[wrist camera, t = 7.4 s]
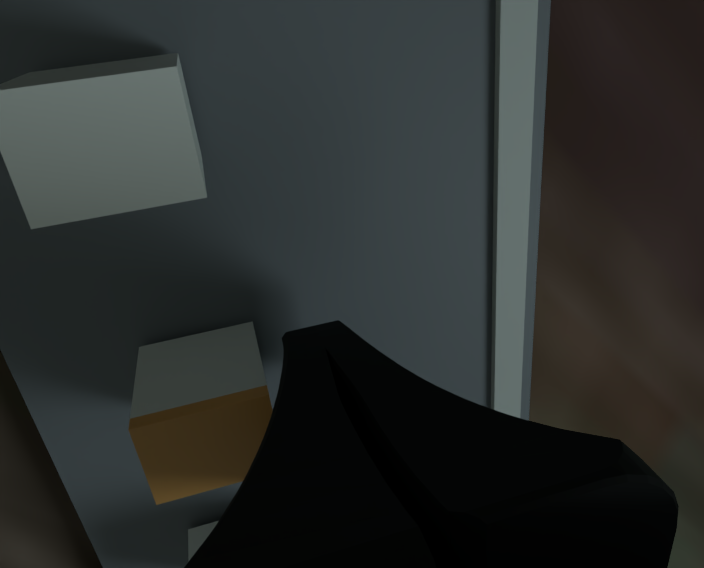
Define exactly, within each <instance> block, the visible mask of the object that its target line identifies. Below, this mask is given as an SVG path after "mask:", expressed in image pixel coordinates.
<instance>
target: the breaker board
mask: <svg viewBox="0 0 704 568" xmlns="http://www.w3.org/2000/svg"><path fill="white" fill-rule="evenodd" d="M550 4H551V0H0V84H2V83H4V82H7V81H9V80H12V79H14V78H17V77H19V76H21V75H24V74H26V73H29V72H35V71H43V70H51V69H58V68H66V67H74V66H81V65H89V64H96V63H104V62H112V61H119V60H127V59H135V58H142V57H150V56H158V55H165V54H173V53H178V55H179V59H180V63H181V68H182V72H183V77H184V81H185V85H186V90H187V94H188V98H189V103H190V107H191V111H192V116H193V120H194V125H195V129H196V133H197V138H198V142H199V146H200V151H201V155H202V162H203V170H204V177H205V185H206V192H207V198H202V199H197V200H191V201H186V202H180V203H174V204H169V205H163V206H158V207H152V208H147V209H141V210H136V211H130V212H124V213H119V214H113V215H108V216H102V217H97V218H91V219H86V220H80V221H74V222H69V223H63V224H58V225H52V226H47V227H41V228H36V229H31V228H30V225H29V223H28V220H27V218H26V215H25V213H24V210H23V208H22V205H21V203H20V200H19V197H18V195H17V192H16V190H15V187H14V185H13V182H12V180H11V177H10V175H9V172H8V169H7V167H6V164H5V162H4V159H3V157H2V154H1V152H0V350H1V352H2V354H3V356H4V359H5V361H6V363H7V365H8V367H9V369H10V371H11V373H12V376H13V378H14V380H15V382H16V384H17V386H18V388H19V390H20V393H21V395H22V397H23V399H24V401H25V403H26V405H27V407H28V410H29V412H30V414H31V416H32V418H33V420H34V422H35V424H36V427H37V429H38V431H39V433H40V435H41V437H42V439H43V441H44V444H45V446H46V448H47V450H48V452H49V454H50V456H51V458H52V461H53V463H54V465H55V467H56V469H57V471H58V473H59V475H60V478H61V480H62V482H63V484H64V486H65V488H66V490H67V492H68V495H69V497H70V499H71V501H72V503H73V505H74V507H75V509H76V512H77V514H78V516H79V518H80V520H81V522H82V524H83V526H84V529H85V531H86V533H87V535H88V537H89V539H90V541H91V543H92V546H93V548H94V550H95V552H96V554H97V556H98V558H99V560H100V563H101V565H102V567H103V568H184V567H185V566H186V564H187V563H188V562H189V561H188V529H191V528H195V527H198V526H202V525H205V524H209V523H212V522H216V521H219V520H220V518H221V517H222V515H223V513H224V512H225V510H226V509H227V507H228V505H229V504H230V502H231V501H232V499H233V497H234V496H235V494H236V493H237V491H238V489H239V488H240V486H241V484H242V482H243V481H242V482H238V483H234V484H231V485H227V486H224V487H220V488H216V489H213V490H209V491H205V492H202V493H198V494H195V495H191V496H187V497H184V498H180V499H177V500H173V501H169V502H166V503H162V504H158V505H156V502H155V500H154V497H153V494H152V492H151V489H150V486H149V484H148V481H147V478H146V476H145V473H144V470H143V468H142V465H141V462H140V460H139V457H138V454H137V452H136V449H135V446H134V444H133V441H132V438H131V436H130V433H129V430H128V429H129V421H130V413H131V406H132V398H133V390H134V382H135V375H136V367H137V359H138V351H139V347H141V346H145V345H150V344H154V343H158V342H163V341H167V340H172V339H176V338H181V337H185V336H190V335H194V334H199V333H203V332H208V331H212V330H217V329H221V328H225V327H230V326H234V325H239V324H243V323H248V322H252V321H253V326H254V330H255V334H256V339H257V343H258V348H259V352H260V357H261V361H262V366H263V370H264V374H265V379H266V383H267V388H268V392H269V397H270V401H271V406H272V411H273V407H274V404H275V400H276V397H277V393H278V389H279V383H280V378H281V372H282V365H283V352H284V350H283V343H282V337H283V335H284V334H285V333H286V332H288V331H293V330H297V329H301V328H306V327H310V326H315V325H319V324H323V323H328V322H332V321H337V320H339V321H341V322H342V323H344V324H345V325H346V326H347V327H349V328H350V329H351V330H352V331H354V332H355V333H356V334H357V335H359V336H360V337H361V338H363V339H364V340H365V341H367V342H368V343H369V344H371V345H372V346H373V347H375V348H376V349H377V350H379V351H380V352H382V353H383V354H384V355H386V356H387V357H389V358H390V359H392V360H393V361H395V362H396V363H398V364H399V365H401V366H402V367H404V368H406V369H407V370H409V371H411V372H412V373H414V374H416V375H417V376H419V377H421V378H423V379H424V380H426V381H428V382H430V383H432V384H434V385H436V386H438V387H440V388H442V389H444V390H447V391H449V392H451V393H453V394H455V395H457V396H460V397H462V398H464V399H467V400H469V401H472V402H474V403H477V404H479V405H482V406H485V407H488V408H491V409H493V410H496V411H499V412H502V413H505V414H508V415H511V416H514V417H518V418H521V419H524V420H528V421H529V406H530V387H531V368H532V349H533V329H534V310H535V291H536V272H537V253H538V234H539V215H540V195H541V176H542V157H543V138H544V119H545V100H546V81H547V62H548V42H549V23H550Z"/></svg>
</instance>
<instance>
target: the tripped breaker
mask: <svg viewBox="0 0 704 568" xmlns="http://www.w3.org/2000/svg"><path fill="white" fill-rule="evenodd" d="M271 414H272V406H271V401H270V397H269V392H268V388H267V383H266V379H265V374H264V370H263V366H262V361H261V357H260V352H259V348H258V343H257V339H256V334H255V330H254V326H253V321H252V322H248V323H243V324H239V325H234V326H230V327H225V328H221V329H217V330H212V331H208V332H203V333H199V334H194V335H190V336H185V337H181V338H176V339H172V340H167V341H163V342H158V343H154V344H150V345H145V346H141V347H139V351H138V359H137V367H136V375H135V382H134V390H133V398H132V406H131V413H130V421H129V429H128V430H129V433H130V436H131V438H132V441H133V444H134V446H135V449H136V452H137V454H138V457H139V460H140V462H141V465H142V468H143V470H144V473H145V476H146V478H147V481H148V484H149V486H150V489H151V492H152V494H153V497H154V500H155V502H156V505H158V504H162V503H166V502H169V501H173V500H177V499H180V498H184V497H187V496H191V495H195V494H198V493H202V492H205V491H209V490H213V489H216V488H220V487H224V486H227V485H231V484H234V483H238V482H242V481H243V480H244V478H245V476H246V475H247V473H248V470H249V468H250V466H251V464H252V462H253V460H254V458H255V456H256V454H257V452H258V449H259V447H260V445H261V442H262V440H263V437H264V435H265V432H266V429H267V426H268V424H269V421H270V418H271Z"/></svg>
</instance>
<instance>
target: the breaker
mask: <svg viewBox="0 0 704 568" xmlns="http://www.w3.org/2000/svg"><path fill="white" fill-rule="evenodd" d="M0 152H1V154H2V157H3V159H4V162H5V164H6V167H7V169H8V172H9V175H10V177H11V180H12V182H13V185H14V187H15V190H16V192H17V195H18V197H19V200H20V203H21V205H22V208H23V210H24V213H25V215H26V218H27V220H28V223H29V225H30V228H31V229H36V228H41V227H47V226H52V225H58V224H63V223H69V222H74V221H80V220H86V219H91V218H97V217H102V216H108V215H113V214H119V213H124V212H130V211H136V210H141V209H147V208H152V207H158V206H163V205H169V204H174V203H180V202H186V201H191V200H197V199H202V198H207V192H206V185H205V177H204V170H203V162H202V155H201V151H200V146H199V142H198V138H197V133H196V129H195V125H194V120H193V116H192V111H191V107H190V103H189V98H188V94H187V90H186V85H185V81H184V77H183V72H182V68H181V63H180V59H179V55H178V53H173V54H165V55H158V56H150V57H142V58H135V59H127V60H119V61H112V62H104V63H96V64H89V65H81V66H74V67H66V68H58V69H51V70H43V71H35V72H29V73H26V74H24V75H21V76H19V77H17V78H14V79H12V80H9V81H7V82H4V83H2V84H0Z"/></svg>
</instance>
